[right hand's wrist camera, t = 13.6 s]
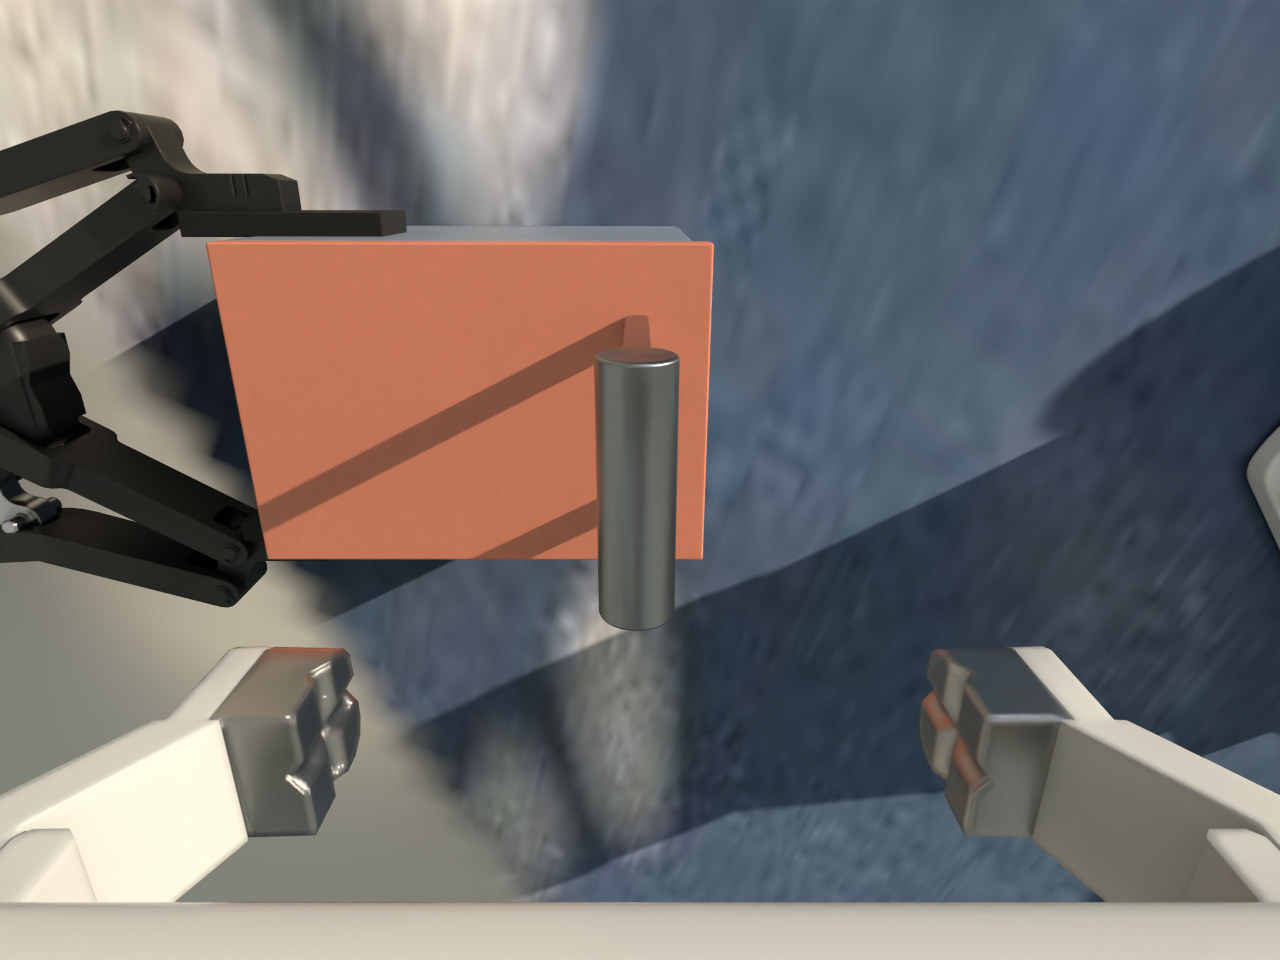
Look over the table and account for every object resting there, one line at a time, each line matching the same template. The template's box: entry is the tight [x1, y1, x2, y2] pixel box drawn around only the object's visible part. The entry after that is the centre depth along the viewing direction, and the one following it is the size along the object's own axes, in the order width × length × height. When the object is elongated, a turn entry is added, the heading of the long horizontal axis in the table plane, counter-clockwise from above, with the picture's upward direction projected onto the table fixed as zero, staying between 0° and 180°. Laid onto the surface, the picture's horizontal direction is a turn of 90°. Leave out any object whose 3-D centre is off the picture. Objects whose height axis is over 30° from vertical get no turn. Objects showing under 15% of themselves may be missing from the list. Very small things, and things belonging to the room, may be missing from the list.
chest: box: [231, 226, 691, 241], centre depth 29 cm, size 14×10×10 cm
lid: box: [206, 240, 714, 631], centre depth 20 cm, size 15×10×8 cm
